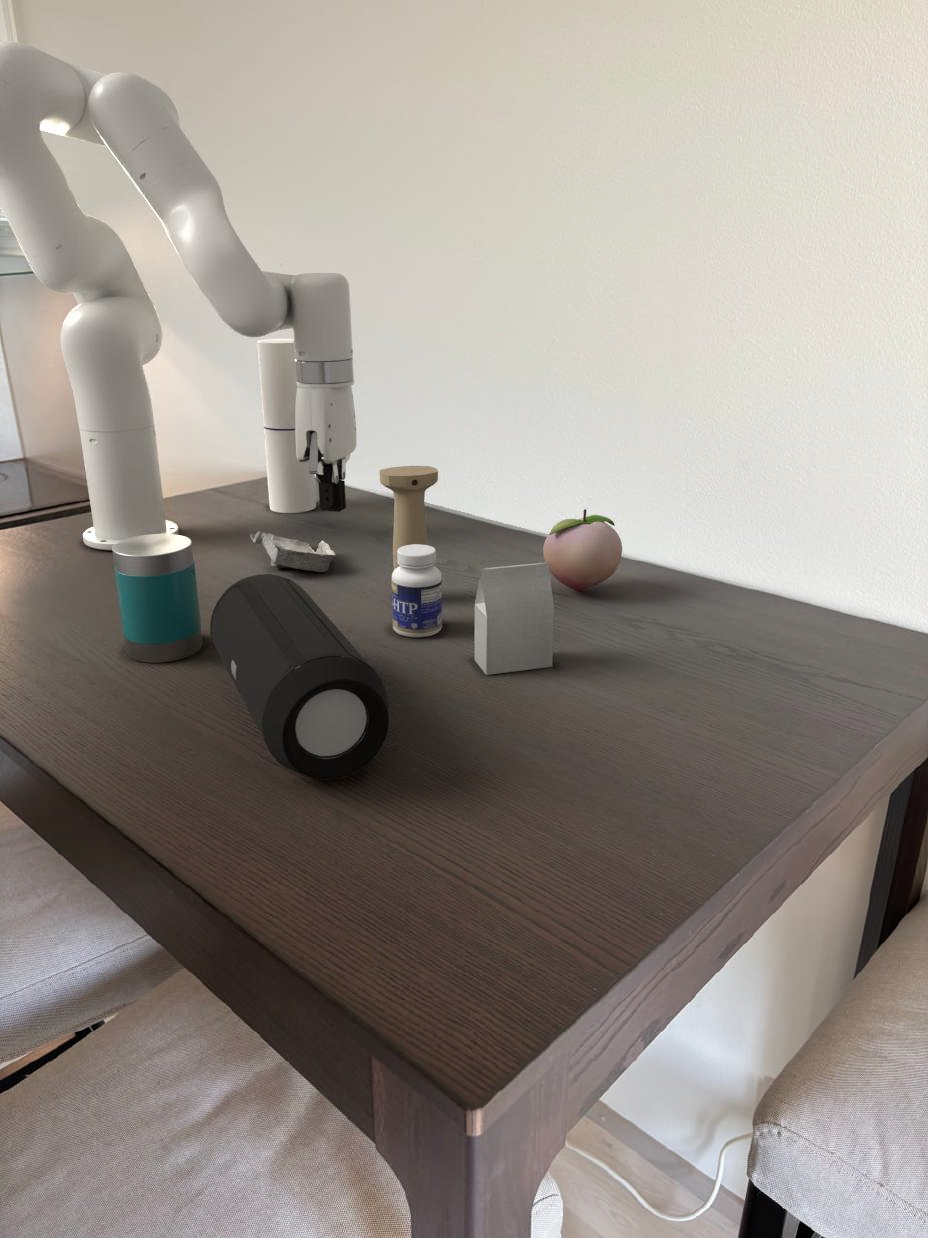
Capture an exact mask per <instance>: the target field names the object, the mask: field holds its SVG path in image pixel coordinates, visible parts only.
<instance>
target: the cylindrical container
mask: <svg viewBox="0 0 928 1238" xmlns="http://www.w3.org/2000/svg"><path fill="white" fill-rule="evenodd" d="M256 347H257V359H258V361H257V362H258V372H259V385H260V387H259V388H260V399H261V412H262V424H263V425H262V426H263V437H264V438H263V439H264V450H265V451H264V452H265V464H266V477H267V490H268V503H269V510H270V511H271V512H275V513H279V514H299V513H305V512H309V511H310V512H311V511H312V510H314V509H316V508H317V499H316V495H317V494H316V476H315V474H310V473H309V461H307V462H304V463H302V462H299V461H298V459H297V455H296V435H295V407H296V394H297V387H299V386H297V383H296V369H295V353H294V339H293V338H267V339H259V340H256Z"/></svg>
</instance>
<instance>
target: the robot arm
mask: <svg viewBox="0 0 928 1238" xmlns="http://www.w3.org/2000/svg"><path fill="white" fill-rule="evenodd" d="M180 124H181V122H180V117H179V113H178V110H177V108H176V105H175V104H174V102H173V100H172V99H171V98H170V96H169V95H168V93H166V92H165V91H164V90H163V89H162V88H160V87H159V86H158V85H156V84H154V83H152V82H150V81H149V80H147V79H144V78H143V77H141V76H139V75H137V74H136V73H132V72H126V71H117V72H112V73H105V72H101V71H98V70H94V69H91V68H87V67H84V66H80V65H78V64H74V63H70V62H67V61H65V60H62V59H60V58H57V57H56V56H53V55H51V54H49V53H47V52H45V51H44V50H43V51H42V50H40V49H38V48H36V47H34V46H31V45H29V44H27V43H26V44H25V43H21V42H17V41H0V209H1V211H2V213H3V216H5V219H6V220H7V223H8V224H9V227H10V229H11V231H12V232H13V234H14V237H15V238H16V241H17V243H18V244H19V247H20V249H21V251H22V253H23V255H24V257H25V259H26V261H27V264H28V265H29V267H30V269H31V271H32V272H33V274H34V275H35V276H36V278H37V279H38V281H39V282H40V283H42V285H44V286H45V287H47V288H48V289H50V290H52V291H54V292H57V293H64V294H72V295H73V297H74V299H75V301H76V302H77V305H76V306H75V307H74V308H72V309H71V310H70V312H68V314H67V316H66V317H65V319H64V321H63V323H62V326H61V329H60V349H61V355H62V359H63V362H64V365H65V370H66V373H67V375H68V379H69V382H70V386H71V391H72V395H73V400H74V405H75V413H76V419H77V424H78V425H77V426H78V429H79V436H80V443H81V449H82V450H81V451H82V457H83V463H84V470H85V476H86V478H85V479H86V484H87V490H88V497H89V498H88V499H89V504H90V510H91V511H90V512H91V519H92V525H93V526H91V527H89V528H87V529H86V530H85V531H84V532H83V533H82V541H83V543H84V545H86V546H87V547H89V548H91V549H96V550H100V551H112V547H113V546H114V545H115V544H116V543H118V542H119V541H122V540H125V539H128V538H131V537H136V536H141V535H149V534H175V535H180V532H179V526H178V524H177V523H174V522H173V521H171V520H167V519H166V511H165V503H164V494H163V486H162V477H161V470H160V460H159V451H158V443H157V437H156V436H157V435H156V429H155V427H156V426H155V420H154V412H153V403H152V399H151V395H150V394H151V393H150V389H149V385H148V382H147V378H146V375H145V374H146V373H145V371H144V366H145V365H147V364H149V363H150V362H151V361H153V359H154V358H156V356H157V355H158V353H159V352H160V350H161V347H162V344H163V339H164V338H163V337H164V335H163V332H164V331H163V326H162V322H161V319H160V316H159V314H158V311H157V310H156V307H155V305H154V302H153V300H152V298H151V297H150V294H149V292H148V290H147V288H146V286H145V283H144V281H143V279H142V277H141V275H140V273H139V271H138V268H137V266H136V265H135V262H134V260H133V258H132V256H131V254H130V252H129V250H128V248H127V246H126V244H125V243H124V241H123V240H122V238H121V237H120V236H119V234H118V233H117V232H116V230H115V229H114V228H113V227H111V226H110V225H109V224H108V223H107V222H106V221H104V220H103V219H100V218H98V217H96V216H93V215H91V214H85V213H84V212H83V210H82V208H81V207H80V205H79V203H78V201H77V199H76V197H75V195H74V193H73V192H72V189H71V188H70V187H71V186H69V183H68V181H67V178H66V175H65V173H64V171H63V170H62V168H61V165H60V164H59V163H58V161H57V160H56V158H55V157H54V155H53V154H52V152H51V151H50V149H49V147H48V146H47V144H46V142H45V140H44V138H43V135H42V132H43V131H44V132H47V133H50V134H53V135H59V136H62V137H66V138H70V139H74V140H78V141H82V142H86V143H89V144H93V145H96V146H100V147H105V148H107V149H108V150H109V151H110V153H111V154H112V155H113V157H114V158H115V159H116V161H117V162H118V164H119V165H120V166H121V168H122V169H123V171H124V172H125V174H126V175H127V176H128V177H129V179H130V180H131V181H132V183H133V184H134V186H135V188H137V190H138V192H139V193H140V194H141V196H142V197H143V198H144V200H145V201H146V203H147V204H148V205H149V207H150V208H151V210H152V211H153V212H154V214H155V216H157V218H158V219H159V221H160V222H161V224H162V226H163V228H164V231H165V232H166V235H167V237H168V239H169V241H170V242H171V245H172V247H174V249H175V252H176V253H177V255H178V257H179V259H180V261H181V262H182V264H183V267H184V268H185V270H186V271H187V273H188V274H189V275H190V277H191V279H192V280H193V282H194V283H195V284H196V286H197V288H198V289H199V290H200V292H201V293H202V294H203V296H205V299H206V300H207V301H208V302H209V304H210V305H211V307H212V308H213V309H214V311H215V312H216V313H217V315H218V316H219V317H220V319H221V320H222V321H223V322H224V323H225V324H226V325H227V326H228V327H229V329H231V330H233V331H234V332H235V333H237V334H238V335H241V336H243V337H247V338H261V337H265V336H266V335H270V334H271V333H274V332H279V331H282V330H290V329H292V339H294V353H295V369H296V383H297V386H299V387H297V394H296V407H295V435H296V455H297V459H298V461H299V462H302V463H304V462H307V461H309V473H310V474H314V475H315V480H316V482H317V484H318V499H319V500H318V501H319V509H320V510H321V511H324V512H335V513H336V512H337V513H339V512H342V511H343V510H345V509H346V508H347V500H346V498H347V497H346V483H345V480H346V476H347V474H346V473H347V471H346V470H347V468H346V467H347V462H348V461H349V460H350V459H351V454H352V453H353V452H354V451H355V450H356V448H357V422H356V421H357V420H356V419H357V418H356V412H355V411H356V410H355V403H354V401H355V400H354V395H353V394H354V393H353V387H352V386H354V385H355V373H354V369H355V368H354V351H353V350H354V349H353V337H352V335H353V334H352V333H353V332H352V312H351V294H350V293H351V292H350V283H349V281H348V279H347V277H346V276H344V275H343V274H341V273H336V272H308V273H307V272H306V273H299V274H286V273H279V272H272V271H262V269H261V267H259V265H258V263H257V262H256V261H255V259H254V258H253V257H252V254H250V252H249V250H248V249H247V248H246V246H245V245H244V244H243V242H242V240H241V238H240V237H239V236H238V234H237V232H236V230H235V228H234V227H233V224H232V223H231V221H230V218H229V216H228V214H227V211H226V207H225V202H224V197H223V192H222V188H221V186H220V184H219V182H218V180H217V179H216V177H215V175H214V174H213V173H212V171H211V170H210V169H209V167H208V165H207V164H206V163H205V161H204V160H203V158H202V157H201V156H200V154H199V153H198V152H197V150H196V149H195V147H194V146H193V144H192V143H191V142H190V140H189V138H188V137H187V136H186V134H185V132H184V131H183V130H182V129H181V127H180V126H181V125H180ZM41 131H42V132H41Z"/></svg>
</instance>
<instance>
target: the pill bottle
mask: <svg viewBox="0 0 928 1238" xmlns="http://www.w3.org/2000/svg"><path fill="white" fill-rule="evenodd" d="M397 560H398V564H399V565H400V566H399V567H398V568H396V569H395V570H394V569H393V571H392V574H391V606H392V607H391V608H392V610H391V611H392V629H393V631H395V633H396V634H398V635H400V636H402V637H407V638H427V637H431V636H434V635H436V634H438V633H440V632H441V630H442V628H443V574H442V572H441V570H440V569H439V568H438V567H436V566H435V564H436V563H437V551H436V548H435V547H434V546H432V545H429V544H427V545H421V544H413V545H406V546H402V547H400V548H399V549H398V551H397Z"/></svg>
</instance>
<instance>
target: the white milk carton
mask: <svg viewBox="0 0 928 1238" xmlns="http://www.w3.org/2000/svg"><path fill="white" fill-rule="evenodd" d="M478 578H479V579H478V585H477V590H476V596H475V601H474V662H475V663H476V664H477V666H479V669H480V670H481V671H482V672H483V674H485V676H490V675H497V674H503V673H504V674H505V673H506V674H507V673H512V672H520V671H521V672H523V671H528V670H536V669H545V668H553V656H554V655H553V654H554V633H555V632H554V628H555V605H554V603H555V602H554V597H553V590H552V582H551V581H552V580H551V572H550V570H549V563H548V562H545V561H544V562H536V563H524V564H515V565H504V566H494V567H484V568H479V577H478Z"/></svg>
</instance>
